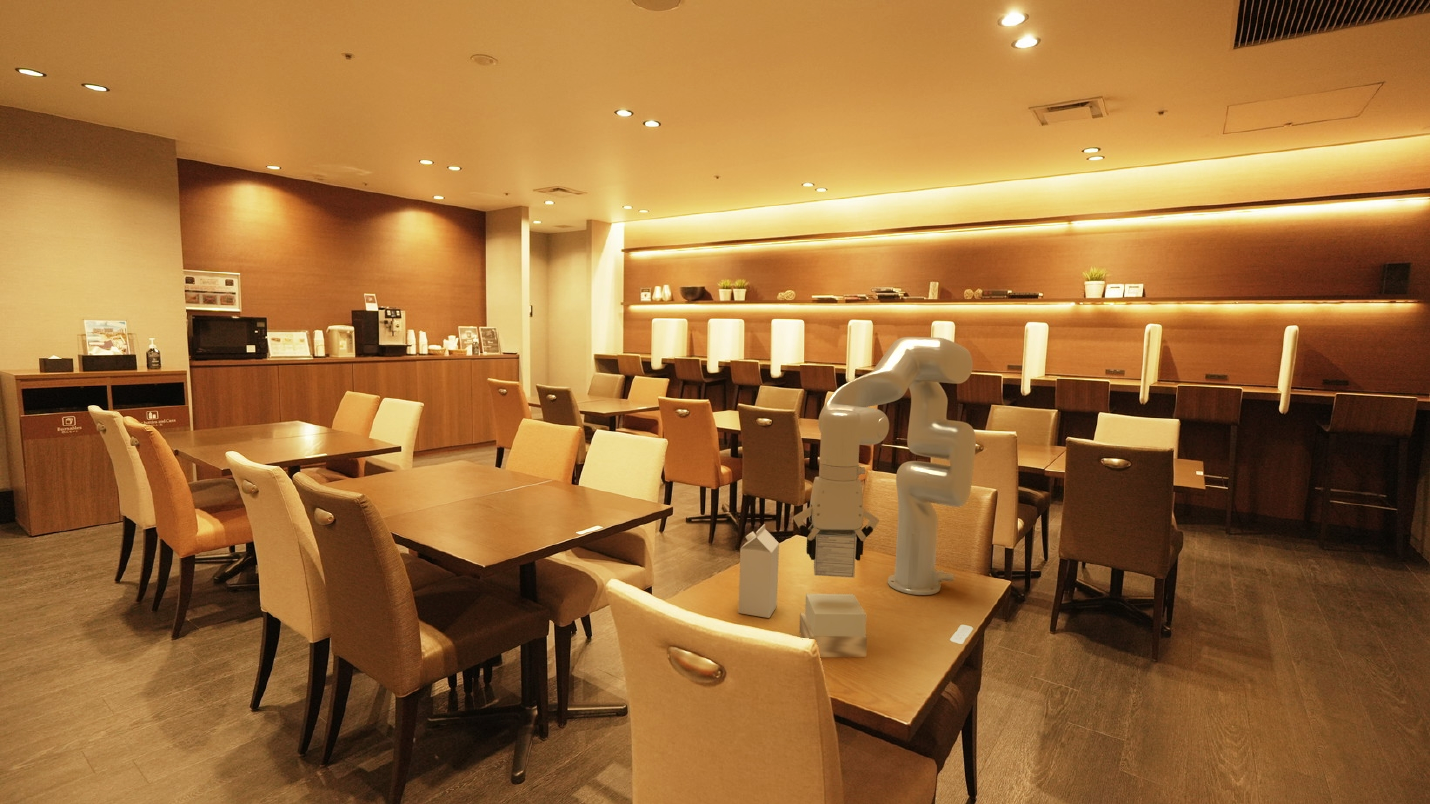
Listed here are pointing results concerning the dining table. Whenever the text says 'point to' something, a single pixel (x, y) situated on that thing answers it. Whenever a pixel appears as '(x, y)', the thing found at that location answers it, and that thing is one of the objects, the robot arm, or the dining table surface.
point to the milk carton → (758, 574)
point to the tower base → (834, 642)
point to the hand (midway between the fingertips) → (834, 557)
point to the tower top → (835, 615)
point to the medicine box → (835, 553)
